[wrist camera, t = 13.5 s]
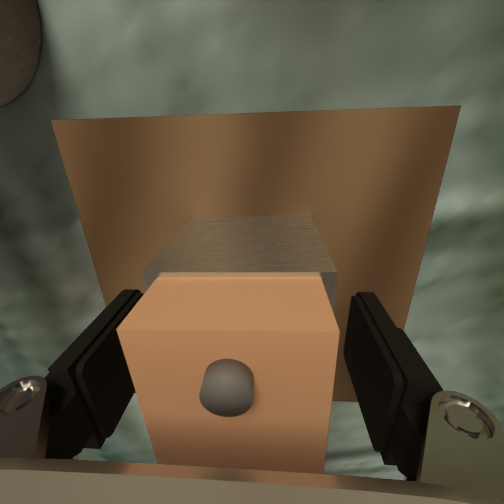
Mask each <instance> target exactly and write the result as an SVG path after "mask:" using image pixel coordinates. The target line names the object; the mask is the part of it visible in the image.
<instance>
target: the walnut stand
mask: <svg viewBox="0 0 504 504" xmlns="http://www.w3.org/2000/svg"><path fill="white" fill-rule="evenodd" d="M460 108H461V105H459V106H432V107H404V108H376V109H349V110H321V111H293V112H266V113H238V114H210V115H183V116H155V117H127V118H100V119H72V120H51V123H52V127H53V130H54V133H55V137H56V140H57V143H58V147H59V150H60V153H61V157H62V160H63V163H64V167H65V170H66V173H67V177H68V180H69V183H70V187H71V190H72V193H73V197H74V200H75V203H76V207H77V210H78V213H79V217H80V220H81V223H82V227H83V230H84V233H85V237H86V240H87V243H88V247H89V250H90V253H91V257H92V260H93V263H94V267H95V270H96V273H97V277H98V280H99V283H100V287H101V290H102V293H103V297H104V300H105V303H106V307H107V306H108V305H109V304H110V303H111V302H112V301H113V300H114V299H115V298H116V296H117V295H118V294H119V293H120V292H121V291H122V290H124V289H138V290H140V291H141V293H144V294H145V288H144V284H143V280H142V275H141V272H142V271H143V269H144V268H145V267H146V266H147V265H148V264H149V263H150V262H151V261H152V260H153V259H154V258H155V257H156V256H157V255H158V253H159V252H160V251H161V250H162V249H163V248H164V247H165V246H166V245H167V244H168V243H169V242H170V241H171V240H172V239H173V237H174V236H175V235H176V234H177V233H178V232H179V231H180V230H181V229H182V228H183V227H184V226H185V225H186V224H187V223H188V221H189V220H190V219H191V218H192V217H230V216H291V215H310V216H311V218H312V220H313V222H314V224H315V226H316V228H317V230H318V232H319V234H320V236H321V238H322V241H323V243H324V245H325V247H326V249H327V251H328V253H329V255H330V257H331V259H332V261H333V263H334V266H335V268H336V270H337V272H338V274H337V284H336V293H335V302H334V312H333V314H334V316H335V319H336V322H337V325H338V328H339V331H340V334H339V343H338V351H337V360H336V369H335V377H334V386H333V395H332V401H348V402H358V400H357V397H356V393H355V390H354V387H353V384H352V381H351V378H350V375H349V372H348V369H347V366H346V363H345V359H344V353H343V350H344V343H345V336H346V329H347V322H348V315H349V308H350V301H351V297H352V296H356V294H357V292H374V293H375V295H376V296H377V298H378V299H379V301H380V302H381V304H382V305H383V307H384V308H385V310H386V312H387V313H388V315H389V316H390V318H391V319H392V321H393V322H394V324H395V325H396V327H397V328H401V329H402V330H403V331H404V327H405V323H406V319H407V315H408V312H409V308H410V304H411V300H412V296H413V292H414V288H415V284H416V280H417V276H418V272H419V269H420V265H421V261H422V257H423V253H424V249H425V245H426V241H427V237H428V233H429V229H430V225H431V222H432V218H433V214H434V210H435V206H436V202H437V198H438V194H439V190H440V186H441V182H442V178H443V175H444V171H445V167H446V163H447V159H448V155H449V151H450V147H451V143H452V139H453V135H454V131H455V128H456V124H457V120H458V116H459V112H460ZM134 393H136V391H135V392H134Z"/></svg>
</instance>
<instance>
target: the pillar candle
mask: <svg viewBox="0 0 504 504" xmlns="http://www.w3.org/2000/svg"><path fill="white" fill-rule="evenodd" d="M40 44H41V23H40V19H39V14H38V8H37V3H36V0H0V106H3V105H5V104H7V103H9V102H10V101H12V100H13V99H14V98H16V97H17V96H18V95H20V94H21V93H22V92H23V91H24V90H25V89H26V88H27V87H28V86H29V84H30V83H31V81H32V78H33V76H34V75H35V72H36V69H37V67H38V61H39V56H40Z"/></svg>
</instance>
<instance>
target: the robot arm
mask: <svg viewBox="0 0 504 504" xmlns="http://www.w3.org/2000/svg"><path fill="white" fill-rule="evenodd" d="M143 295H144V293H141V291H140V290H138V289H124V290H122V291H121V292H120V293H119V294H118V295H117V296H116V298H115V299H114V300H113V301H112V302H111V303H110V304H109V305H108V306H107V307H106V308H105V309H104V310H103V311H102V312H101V313H100V314H99V315H98V317H97V318H96V319H95V320H94V321H93V322H92V323H91V324H90V325H89V326H88V327H87V328H86V329H85V330H84V331H83V332H82V333H81V334H80V336H79V337H78V338H77V339H76V340H75V341H74V342H73V343H72V344H71V345H70V346H69V347H68V348H67V349H66V350H65V351H64V352H63V353H62V355H61V356H60V357H59V358H58V359H57V360H56V361H55V362H54V363H53V364H52V365H51V366H50V367H49V368H48V370H49V372H50V373H49V374H48V375H47V376H46V377H45V378H43V377H40V376H28V377H24V378H21V379H18V380H16V381H14V382H11V383H10V384H8V385H6V386H5V387H3V388H1V389H0V504H504V432H503V429H502V426H501V424H500V422H499V421H498V419H497V418H496V416H495V415H494V414H493V413H492V412H491V411H490V410H489V409H488V408H487V407H485V406H484V405H482V404H481V403H480V402H478V401H477V400H475V399H473V398H471V397H469V396H467V395H465V394H462V393H459V392H456V391H447V390H446V391H444V390H443V389H442V387H441V386H440V384H439V383H438V381H437V380H436V378H435V377H434V375H433V374H432V372H431V371H430V369H429V368H428V367H427V365H426V364H425V362H424V361H423V359H422V358H421V356H420V355H419V353H418V352H417V350H416V349H415V347H414V346H413V344H412V343H411V341H410V340H409V338H408V337H407V335H406V334H405V332H404V331H403V330H402V329H401V328H397V327H396V325H395V324H394V322H393V321H392V319H391V318H390V316H389V315H388V313H387V312H386V310H385V308H384V307H383V305H382V304H381V302H380V301H379V299H378V298H377V296H376V295H375V293H374V292H357V294H356V296H352V297H351V301H350V308H349V315H348V322H347V329H346V336H345V343H344V350H343V353H344V359H345V363H346V366H347V369H348V372H349V375H350V378H351V381H352V384H353V387H354V390H355V393H356V397H357V400H358V403H359V406H360V409H361V412H362V415H363V418H364V421H365V424H366V427H367V430H368V433H369V437H370V440H371V443H372V446H373V448H374V450H375V451H376V452H380V453H381V456H382V459H383V462H384V465H397V467H398V470H399V471H400V472H401V473H402V474H403V475H404V476H405V480H392V479H380V478H369V477H357V476H342V475H327V474H312V473H296V472H281V471H265V470H249V469H233V468H216V467H199V466H182V465H165V464H147V463H128V462H109V461H90V460H79V453H80V452H81V451H82V449H83V448H93V449H101V447H102V445H103V443H104V441H105V439H106V438H107V437H110V436H111V435H112V434H113V432H114V430H115V428H116V426H117V424H118V423H119V421H120V419H121V417H122V415H123V413H124V411H125V409H126V407H127V405H128V404H129V402H130V400H131V398H132V396H133V394H134V392H135V388H134V385H133V381H132V378H131V375H130V372H129V368H128V365H127V362H126V359H125V356H124V352H123V349H122V346H121V343H120V339H119V336H118V333H117V330H116V329H117V328H118V327H119V325H120V324H121V323H122V321H123V320H124V319H125V318H126V316H127V315H128V314H129V313H130V311H131V310H132V309H133V308H134V306H135V305H136V304H137V302H138V301H139V300H140V299H141V297H142V296H143Z"/></svg>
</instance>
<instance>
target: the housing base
mask: <svg viewBox="0 0 504 504" xmlns="http://www.w3.org/2000/svg"><path fill="white" fill-rule="evenodd" d="M337 274H338V272H337V270H336V268H335V266H334V263H333V261H332V259H331V257H330V255H329V253H328V251H327V249H326V247H325V245H324V243H323V241H322V238H321V236H320V234H319V232H318V230H317V228H316V226H315V224H314V222H313V220H312V218H311V216H310V215H291V216H230V217H192V218H191V219H190V220H189V221H188V223H187V224H186V225H185V226H184V227H183V228H182V229H181V230H180V231H179V232H178V233H177V234H176V235H175V236H174V237H173V239H172V240H171V241H170V242H169V243H168V244H167V245H166V246H165V247H164V248H163V249H162V250H161V251H160V252H159V253H158V255H157V256H156V257H155V258H154V259H153V260H152V261H151V262H150V263H149V264H148V265H147V266H146V267H145V268H144V269H143V271H142V272H141V275H142V280H143V284H144V288H145V292H146V291H147V290H148V289H149V287H150V286H151V285H152V283H153V282H154V281H155V280H156V278H226V277H321V279H322V282H323V285H324V288H325V291H326V293H327V296H328V299H329V302H330V305H331V308H332V311H333V312H334V302H335V293H336V284H337Z"/></svg>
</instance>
